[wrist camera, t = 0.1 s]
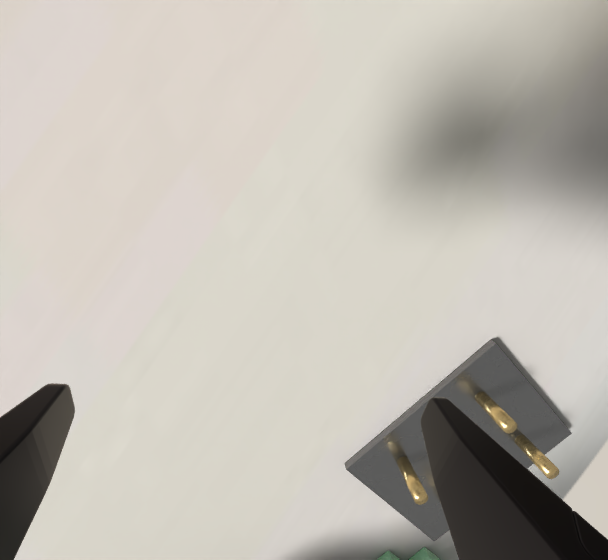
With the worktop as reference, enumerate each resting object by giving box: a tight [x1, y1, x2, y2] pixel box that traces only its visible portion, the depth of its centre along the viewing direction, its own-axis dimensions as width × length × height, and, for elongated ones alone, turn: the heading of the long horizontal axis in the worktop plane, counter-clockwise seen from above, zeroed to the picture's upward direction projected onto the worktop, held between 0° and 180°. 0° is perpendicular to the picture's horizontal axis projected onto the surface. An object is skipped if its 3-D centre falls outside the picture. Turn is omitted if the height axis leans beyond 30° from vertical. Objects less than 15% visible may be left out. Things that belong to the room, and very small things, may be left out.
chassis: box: [345, 340, 572, 541], centre depth 29 cm, size 15×12×4 cm
